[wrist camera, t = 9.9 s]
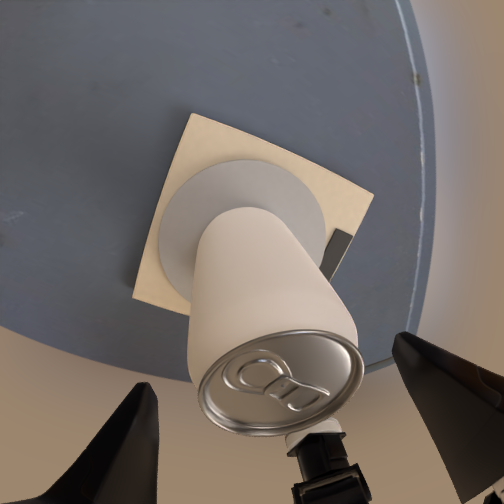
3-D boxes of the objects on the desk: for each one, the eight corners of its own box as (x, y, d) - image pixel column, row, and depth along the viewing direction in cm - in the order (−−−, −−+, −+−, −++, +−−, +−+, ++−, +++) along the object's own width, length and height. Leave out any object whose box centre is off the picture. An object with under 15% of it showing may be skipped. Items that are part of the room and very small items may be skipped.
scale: (290, 334, 25) (295, 347, 23) (135, 290, 21) (130, 302, 20) (366, 191, 21) (378, 196, 19) (193, 113, 17) (190, 111, 15)
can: (244, 184, 18) (296, 273, 7) (310, 247, 20) (402, 370, 9) (177, 256, 19) (146, 404, 8) (246, 308, 21) (277, 453, 10)
